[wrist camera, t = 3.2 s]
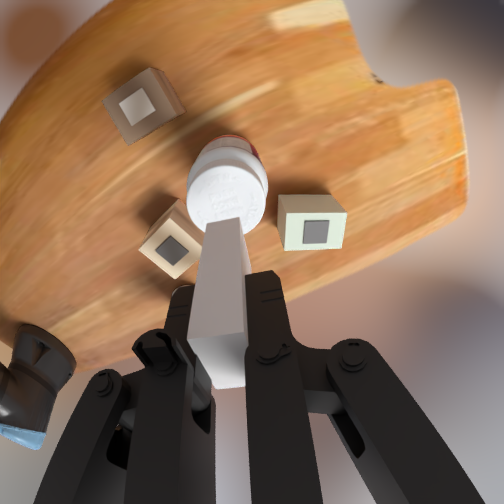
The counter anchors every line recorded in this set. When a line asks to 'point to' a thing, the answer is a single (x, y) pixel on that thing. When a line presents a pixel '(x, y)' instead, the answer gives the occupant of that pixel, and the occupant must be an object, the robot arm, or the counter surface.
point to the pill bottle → (227, 183)
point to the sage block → (310, 222)
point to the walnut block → (143, 105)
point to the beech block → (173, 241)
